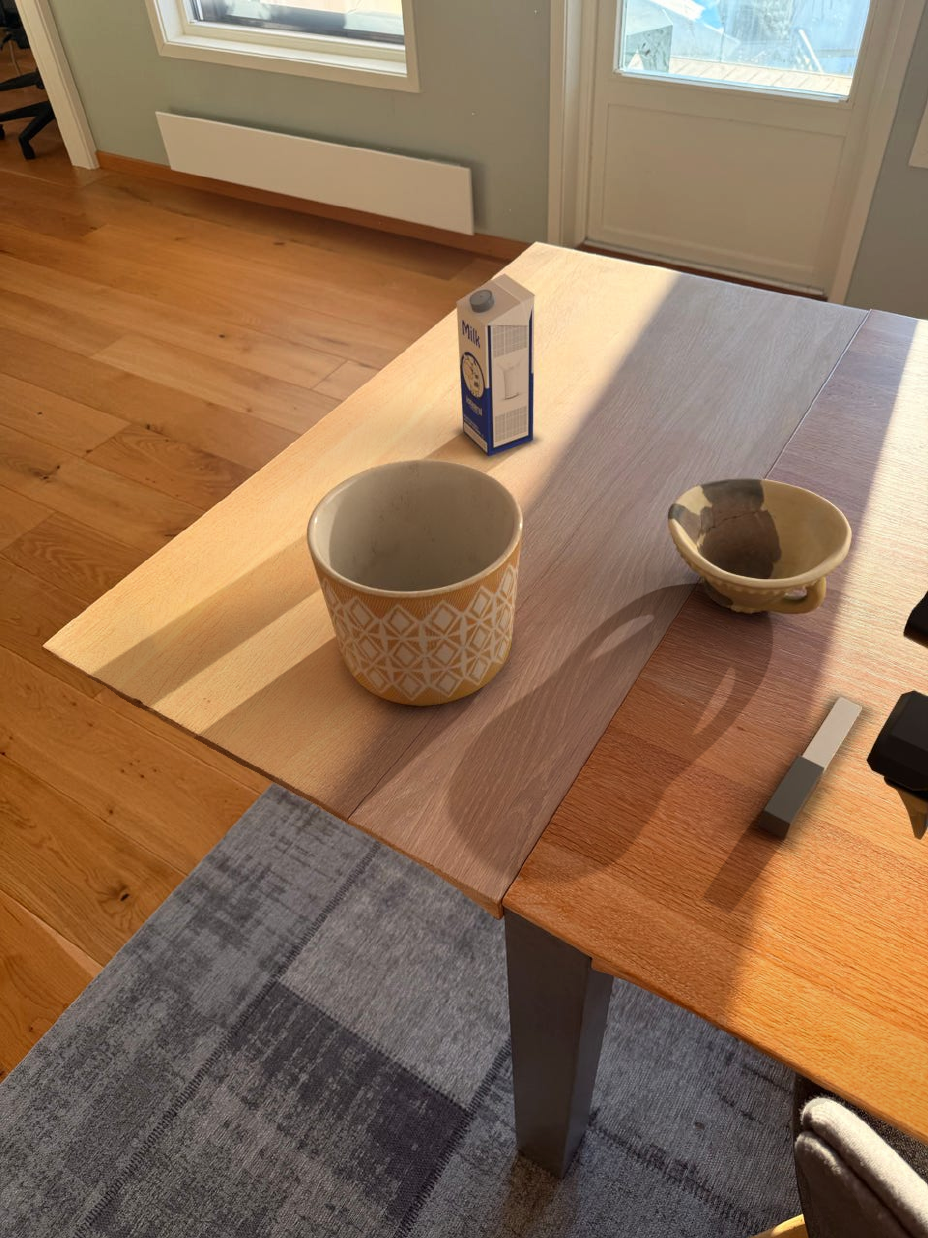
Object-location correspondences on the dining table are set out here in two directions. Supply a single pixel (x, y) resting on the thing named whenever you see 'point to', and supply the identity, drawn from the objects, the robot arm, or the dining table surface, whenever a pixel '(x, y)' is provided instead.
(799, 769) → the two-tone stick
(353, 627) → the planter
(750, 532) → the bowl
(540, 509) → the dining table surface
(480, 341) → the milk carton
